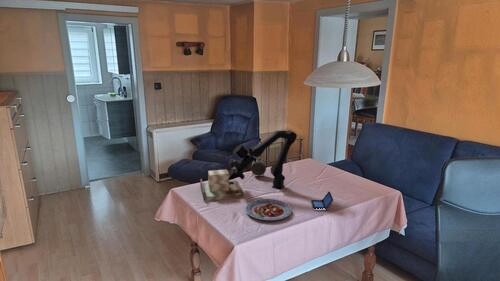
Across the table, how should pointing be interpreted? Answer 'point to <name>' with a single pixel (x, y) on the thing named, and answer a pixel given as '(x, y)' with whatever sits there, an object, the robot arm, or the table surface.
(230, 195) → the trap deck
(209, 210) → the table surface
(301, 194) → the table surface
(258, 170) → the alarm clock
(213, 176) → the birch block
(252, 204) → the ceramic plate
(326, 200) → the handheld game console
